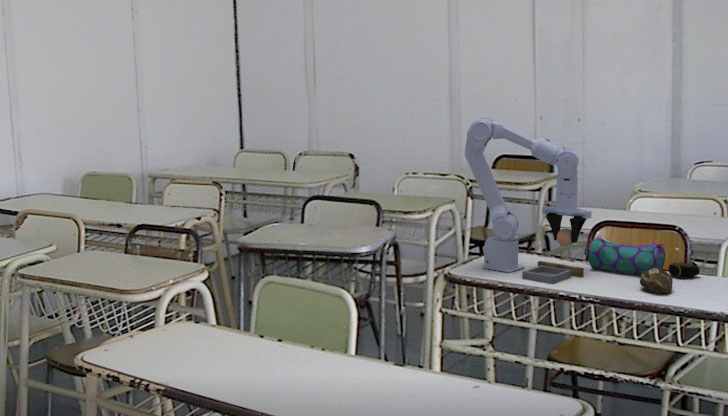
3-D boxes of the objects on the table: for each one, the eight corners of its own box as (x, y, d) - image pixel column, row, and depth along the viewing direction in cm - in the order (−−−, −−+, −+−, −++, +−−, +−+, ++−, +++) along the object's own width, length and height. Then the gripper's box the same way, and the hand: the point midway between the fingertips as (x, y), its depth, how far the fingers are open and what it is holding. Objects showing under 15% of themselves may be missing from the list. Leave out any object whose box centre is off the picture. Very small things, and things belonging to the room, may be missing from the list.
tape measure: (700, 278, 228) (701, 264, 228) (683, 281, 225) (683, 267, 224) (680, 273, 234) (681, 260, 234) (663, 276, 231) (663, 263, 230)
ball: (552, 246, 237) (553, 228, 236) (563, 243, 240) (563, 226, 239) (568, 248, 233) (568, 230, 232) (578, 245, 236) (578, 228, 236)
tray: (522, 278, 231) (522, 271, 230) (541, 272, 237) (541, 265, 237) (552, 284, 224) (552, 276, 224) (571, 277, 231) (571, 270, 230)
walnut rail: (537, 270, 240) (537, 261, 240) (539, 269, 241) (540, 260, 241) (581, 277, 230) (581, 268, 230) (583, 276, 231) (583, 267, 231)
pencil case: (583, 271, 239) (584, 237, 237) (595, 265, 246) (596, 232, 244) (656, 280, 226) (658, 245, 225) (667, 274, 233) (668, 240, 232)
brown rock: (635, 276, 221) (636, 291, 212) (649, 256, 219) (652, 271, 210) (659, 291, 221) (662, 307, 212) (674, 271, 218) (678, 287, 209)
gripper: (536, 192, 236) (535, 239, 238) (583, 197, 226) (581, 246, 228) (549, 190, 241) (548, 236, 243) (595, 194, 231) (594, 242, 234)
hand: (565, 241), depth 236 cm, fingers closed on ball, 5 cm apart
